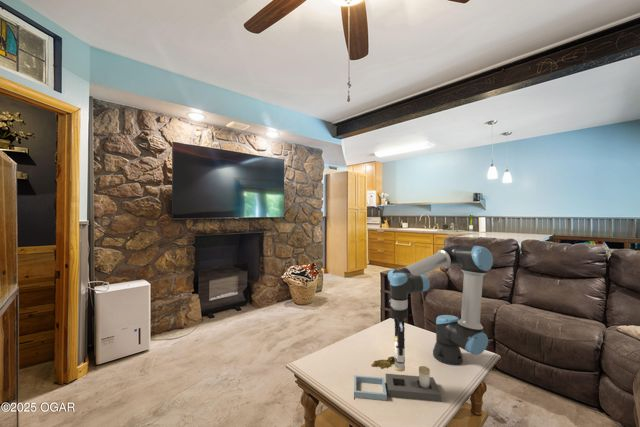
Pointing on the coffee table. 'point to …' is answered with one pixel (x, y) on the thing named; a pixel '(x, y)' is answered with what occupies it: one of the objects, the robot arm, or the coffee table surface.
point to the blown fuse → (398, 365)
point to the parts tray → (370, 394)
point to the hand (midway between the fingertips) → (399, 358)
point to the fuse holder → (411, 388)
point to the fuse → (424, 377)
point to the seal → (384, 363)
